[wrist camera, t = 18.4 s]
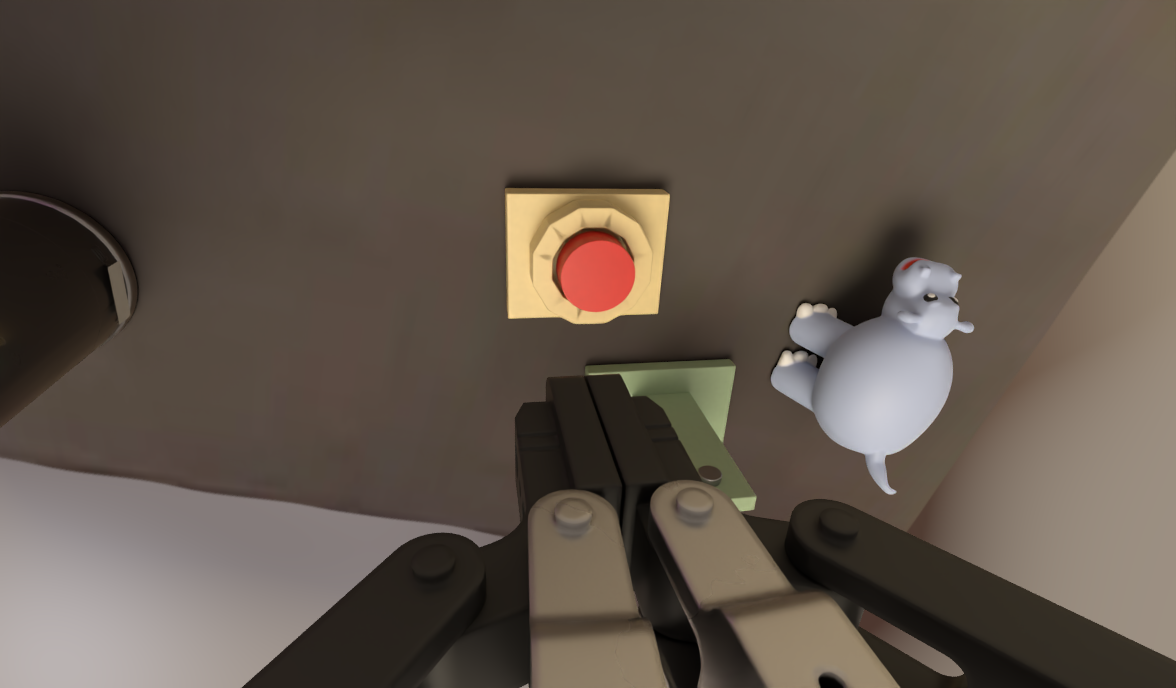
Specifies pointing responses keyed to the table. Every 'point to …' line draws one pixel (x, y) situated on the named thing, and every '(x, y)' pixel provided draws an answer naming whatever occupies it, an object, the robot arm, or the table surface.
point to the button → (595, 271)
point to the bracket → (692, 414)
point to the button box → (563, 213)
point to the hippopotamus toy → (878, 365)
